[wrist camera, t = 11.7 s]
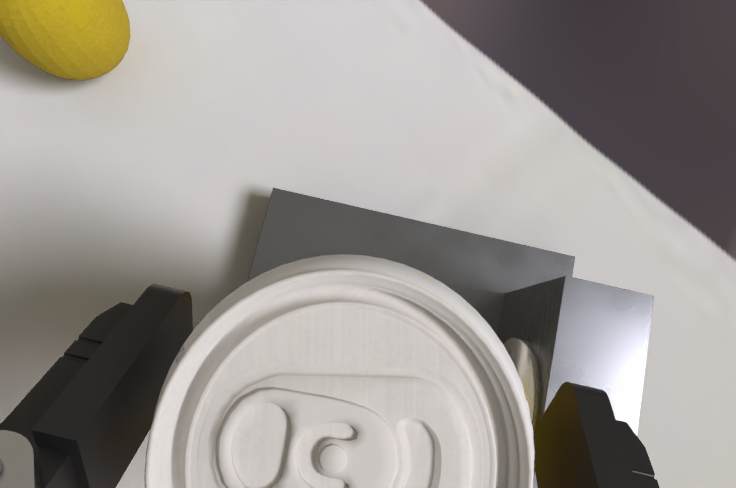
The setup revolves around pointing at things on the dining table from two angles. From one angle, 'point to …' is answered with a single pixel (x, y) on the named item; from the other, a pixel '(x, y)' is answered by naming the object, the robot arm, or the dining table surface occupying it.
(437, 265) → the scale
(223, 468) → the beer can
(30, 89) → the dining table surface
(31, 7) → the lemon
